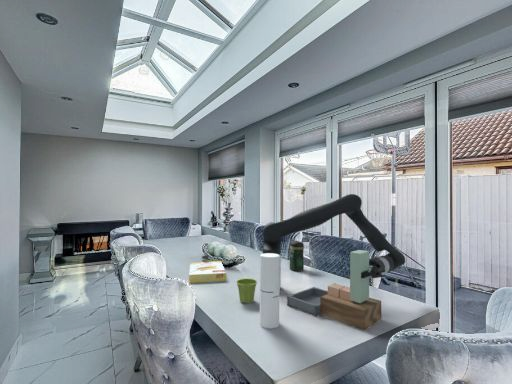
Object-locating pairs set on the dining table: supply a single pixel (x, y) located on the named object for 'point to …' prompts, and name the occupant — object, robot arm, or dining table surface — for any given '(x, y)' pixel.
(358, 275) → the tall sage green panel
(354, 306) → the bench
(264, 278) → the cylindrical container
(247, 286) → the plant pot
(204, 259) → the cake pan
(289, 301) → the tray
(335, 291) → the tile
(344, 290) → the tile
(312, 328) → the dining table surface
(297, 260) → the coffee jar
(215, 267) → the cereal box
